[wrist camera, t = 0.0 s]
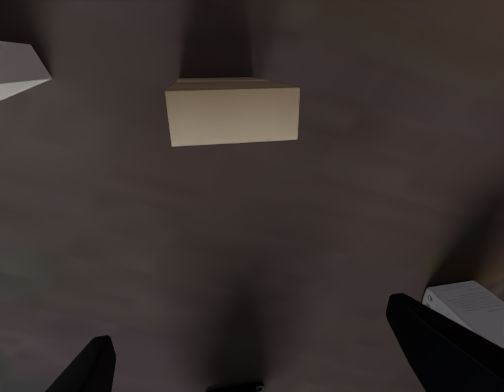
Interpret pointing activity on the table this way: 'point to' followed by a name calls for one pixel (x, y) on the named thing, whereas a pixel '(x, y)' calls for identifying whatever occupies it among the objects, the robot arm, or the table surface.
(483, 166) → the table surface
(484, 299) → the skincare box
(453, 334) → the robot arm
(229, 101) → the domino
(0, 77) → the domino
